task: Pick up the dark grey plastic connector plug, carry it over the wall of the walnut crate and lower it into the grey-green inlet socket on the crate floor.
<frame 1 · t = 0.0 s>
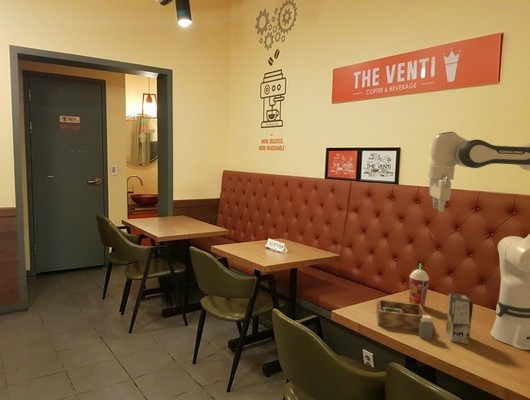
hand: (438, 209, 155), 48 cm above the table, fingers open, 8 cm apart
smoothie: (416, 306, 184), on the table
crate: (399, 321, 165), on the table
coffee box: (456, 338, 152), on the table
plug: (425, 336, 151), on the table
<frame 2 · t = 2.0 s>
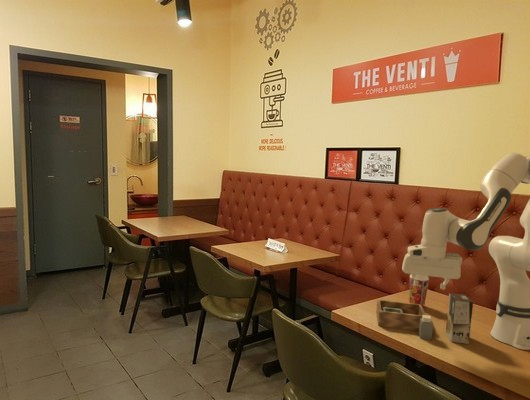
hand: (429, 287, 149), 19 cm above the table, fingers open, 8 cm apart
nothing on the table moved.
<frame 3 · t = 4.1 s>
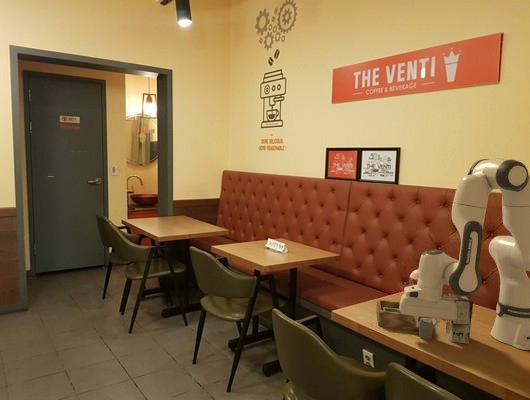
hand: (425, 327, 151), 4 cm above the table, fingers closed on plug, 4 cm apart
plug: (425, 336, 151), on the table, touching gripper
everything else where it was.
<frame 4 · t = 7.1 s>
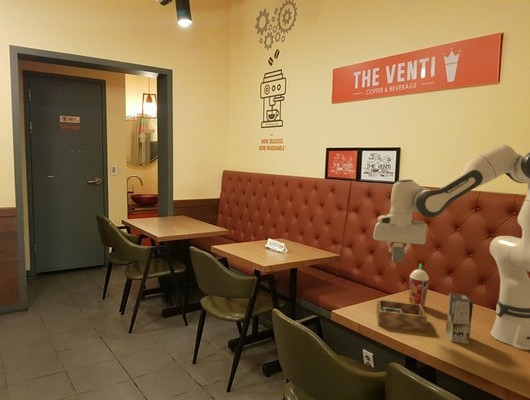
hand: (397, 252, 162), 29 cm above the table, fingers closed on plug, 4 cm apart
plug: (397, 261, 163), point 25 cm above the table, touching gripper
everything else where it was.
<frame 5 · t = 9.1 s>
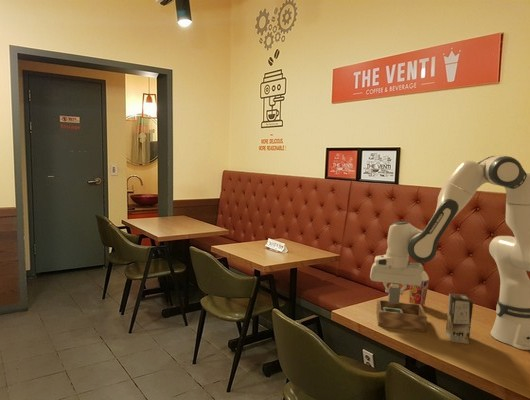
hand: (394, 293, 164), 12 cm above the table, fingers closed on plug, 4 cm apart
plug: (393, 301, 164), point 8 cm above the table, touching gripper
everything else where it was.
when the fingers open (6 cm above the table, at t = 10.6 s): plug drops 1 cm, resting on crate.
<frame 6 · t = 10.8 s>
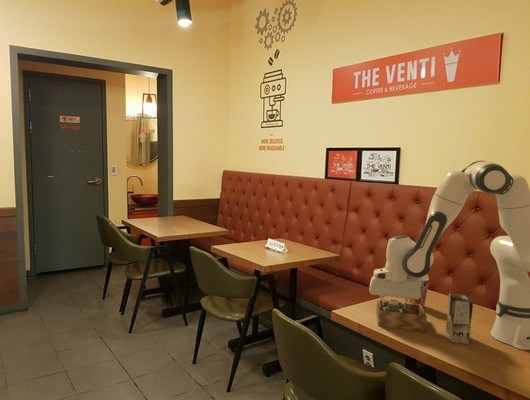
hand: (393, 306, 165), 6 cm above the table, fingers open, 6 cm apart
plug: (392, 318, 165), point 1 cm above the table, touching crate
everything else where it was.
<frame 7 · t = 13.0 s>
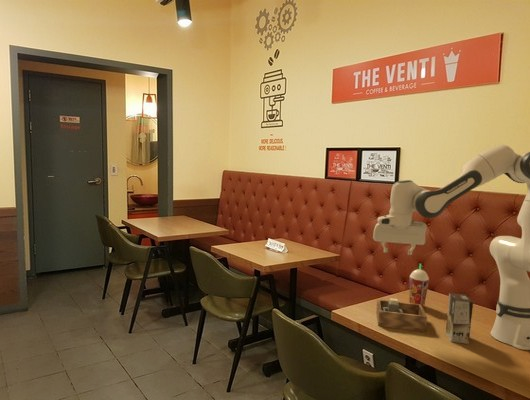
hand: (397, 253, 162), 29 cm above the table, fingers open, 8 cm apart
nothing on the table moved.
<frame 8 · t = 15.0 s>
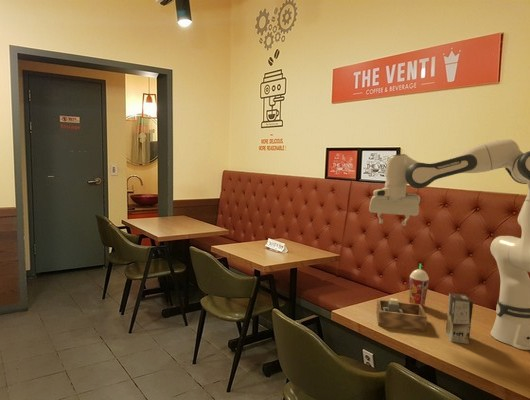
hand: (392, 224, 170), 39 cm above the table, fingers open, 8 cm apart
nothing on the table moved.
at the end: plug 0.2 cm from the target spot on the crate, point 1.2 cm above the crate's base; plug tilted 0°; the gripper is holding nothing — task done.
